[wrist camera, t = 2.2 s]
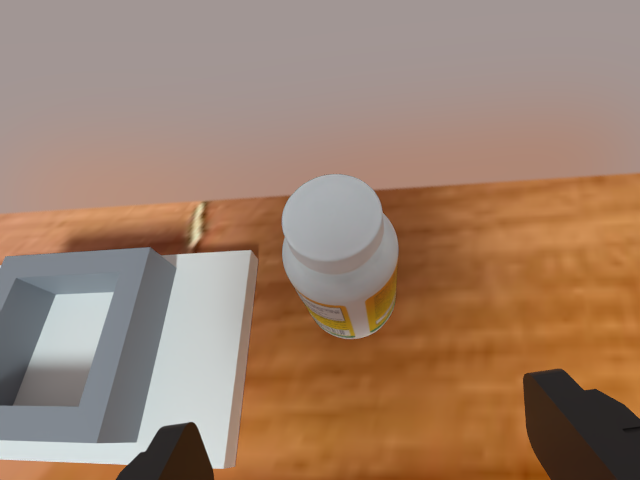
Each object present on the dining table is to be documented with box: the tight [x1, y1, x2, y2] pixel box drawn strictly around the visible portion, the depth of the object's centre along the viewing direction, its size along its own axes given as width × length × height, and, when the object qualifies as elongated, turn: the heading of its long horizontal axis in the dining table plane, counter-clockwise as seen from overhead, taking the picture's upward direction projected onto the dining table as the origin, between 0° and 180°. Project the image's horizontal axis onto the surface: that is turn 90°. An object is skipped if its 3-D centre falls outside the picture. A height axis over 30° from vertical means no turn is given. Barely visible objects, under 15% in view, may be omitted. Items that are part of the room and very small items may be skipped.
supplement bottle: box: [282, 174, 398, 339], centre depth 18 cm, size 5×5×10 cm
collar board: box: [0, 247, 258, 469], centre depth 22 cm, size 20×12×4 cm, turn 88°
